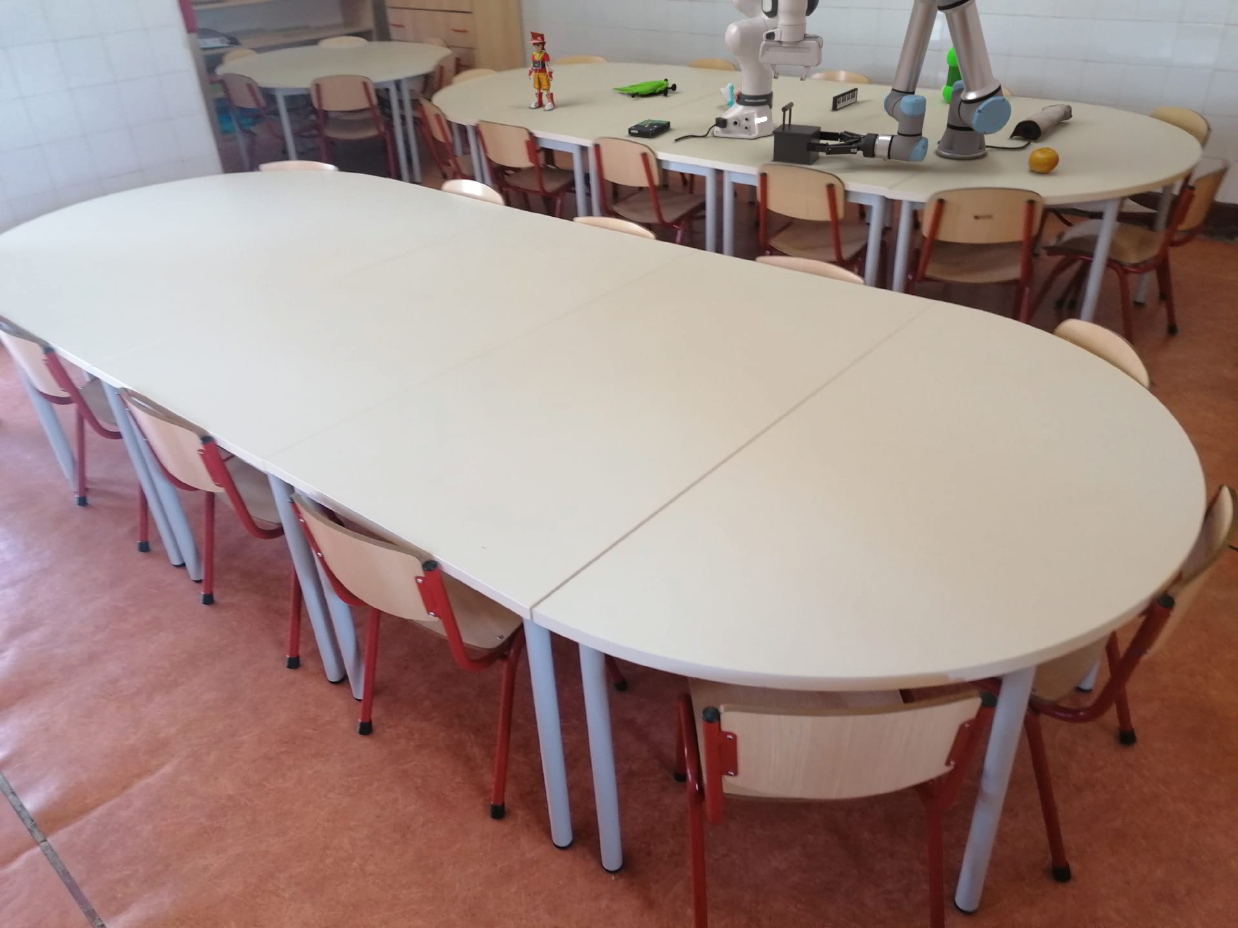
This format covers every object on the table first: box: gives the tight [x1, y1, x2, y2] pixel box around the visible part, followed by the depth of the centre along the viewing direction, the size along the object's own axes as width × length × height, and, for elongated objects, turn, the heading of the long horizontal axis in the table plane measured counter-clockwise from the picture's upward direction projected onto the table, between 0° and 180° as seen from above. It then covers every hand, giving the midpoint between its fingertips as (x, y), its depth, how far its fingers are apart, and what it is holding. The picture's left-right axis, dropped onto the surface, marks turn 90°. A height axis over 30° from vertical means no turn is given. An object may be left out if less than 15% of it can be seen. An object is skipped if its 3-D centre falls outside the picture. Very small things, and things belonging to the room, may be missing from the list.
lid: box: [771, 101, 822, 137], centre depth 297 cm, size 14×10×8 cm
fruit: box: [1027, 147, 1060, 174], centre depth 278 cm, size 8×8×8 cm
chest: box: [772, 129, 822, 166], centre depth 302 cm, size 13×10×9 cm
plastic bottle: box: [942, 46, 962, 104], centre depth 348 cm, size 10×10×25 cm
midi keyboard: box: [831, 87, 859, 111], centre depth 357 cm, size 18×1×5 cm, turn 138°
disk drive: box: [627, 118, 671, 138], centre depth 341 cm, size 10×3×15 cm
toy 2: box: [612, 78, 677, 99], centre depth 396 cm, size 28×5×30 cm
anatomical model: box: [719, 82, 742, 108], centre depth 364 cm, size 15×10×10 cm
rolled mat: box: [1009, 103, 1073, 142], centre depth 315 cm, size 30×9×10 cm
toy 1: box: [527, 31, 556, 111], centre depth 374 cm, size 12×9×30 cm
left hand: (789, 79), depth 292 cm, fingers open, 8 cm apart
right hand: (813, 141), depth 297 cm, fingers open, 13 cm apart
